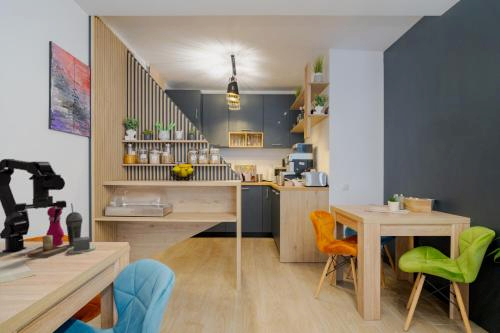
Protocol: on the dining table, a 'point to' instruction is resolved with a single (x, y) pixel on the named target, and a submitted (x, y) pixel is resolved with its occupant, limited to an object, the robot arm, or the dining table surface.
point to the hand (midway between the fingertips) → (41, 225)
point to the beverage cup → (73, 225)
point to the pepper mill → (55, 227)
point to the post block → (47, 248)
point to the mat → (81, 250)
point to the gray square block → (81, 243)
